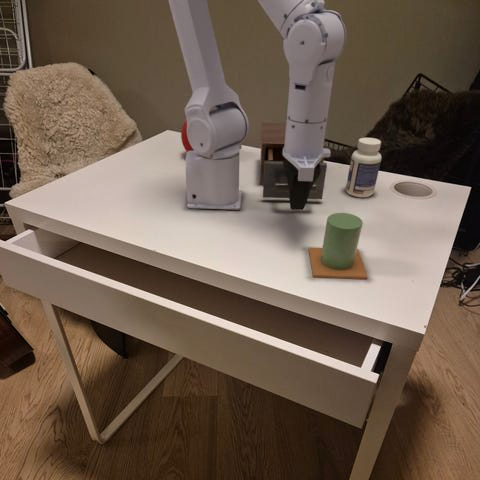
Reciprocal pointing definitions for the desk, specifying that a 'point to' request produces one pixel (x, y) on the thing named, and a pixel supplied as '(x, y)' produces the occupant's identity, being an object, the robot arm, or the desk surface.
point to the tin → (341, 241)
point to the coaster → (322, 271)
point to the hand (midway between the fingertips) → (296, 208)
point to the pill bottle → (364, 168)
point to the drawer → (277, 180)
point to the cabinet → (272, 142)
